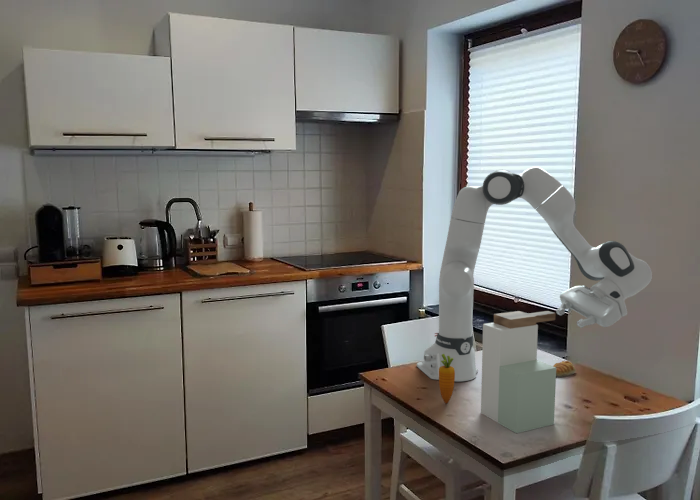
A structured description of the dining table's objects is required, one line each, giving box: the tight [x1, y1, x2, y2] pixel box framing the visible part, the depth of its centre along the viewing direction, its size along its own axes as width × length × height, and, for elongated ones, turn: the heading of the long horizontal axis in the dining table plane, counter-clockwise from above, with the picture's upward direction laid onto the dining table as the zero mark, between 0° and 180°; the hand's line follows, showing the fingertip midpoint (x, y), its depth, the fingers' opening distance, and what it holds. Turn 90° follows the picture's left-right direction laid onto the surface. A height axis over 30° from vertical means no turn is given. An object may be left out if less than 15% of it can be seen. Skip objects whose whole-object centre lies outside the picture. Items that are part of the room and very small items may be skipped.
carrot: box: [438, 354, 455, 405], centre depth 177 cm, size 5×5×15 cm
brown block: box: [493, 310, 557, 329], centre depth 169 cm, size 7×18×2 cm, turn 115°
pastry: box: [553, 360, 577, 378], centre depth 204 cm, size 9×7×4 cm
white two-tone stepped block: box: [480, 322, 557, 434], centre depth 165 cm, size 15×13×26 cm
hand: (568, 318), depth 179 cm, fingers open, 8 cm apart
